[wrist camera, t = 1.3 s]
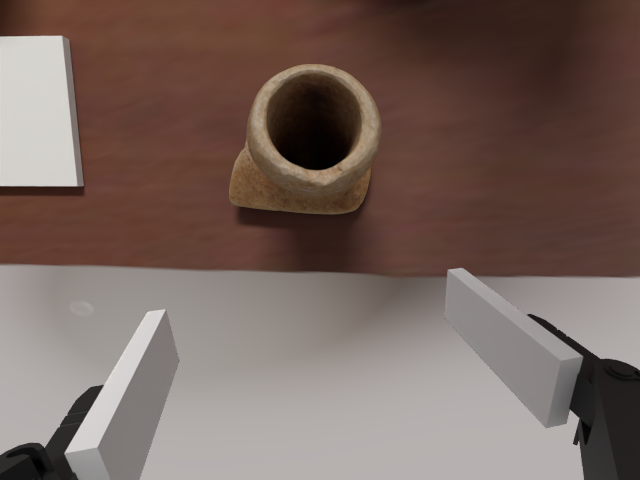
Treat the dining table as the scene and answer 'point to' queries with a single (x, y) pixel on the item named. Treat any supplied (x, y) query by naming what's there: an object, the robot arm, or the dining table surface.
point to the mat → (38, 113)
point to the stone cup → (308, 143)
